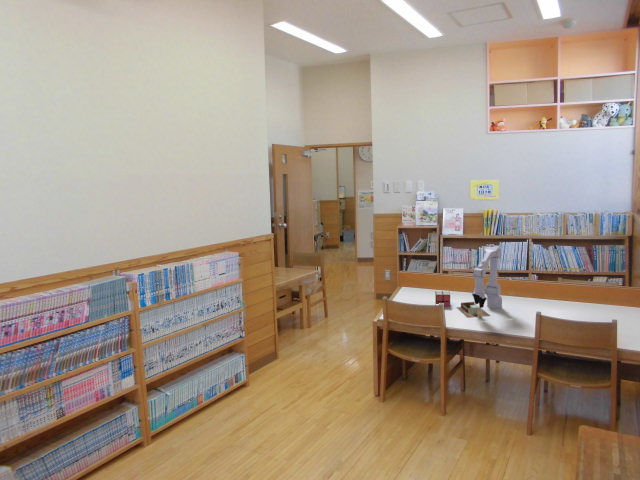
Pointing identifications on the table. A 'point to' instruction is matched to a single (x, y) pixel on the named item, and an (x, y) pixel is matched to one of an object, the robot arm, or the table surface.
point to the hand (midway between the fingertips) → (479, 305)
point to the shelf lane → (466, 310)
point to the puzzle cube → (442, 298)
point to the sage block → (476, 310)
